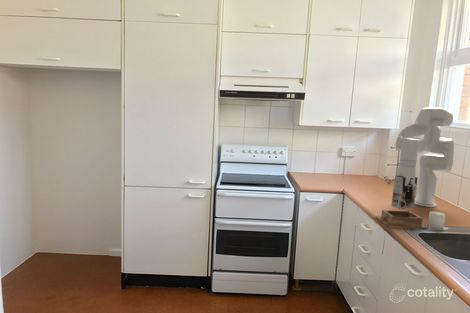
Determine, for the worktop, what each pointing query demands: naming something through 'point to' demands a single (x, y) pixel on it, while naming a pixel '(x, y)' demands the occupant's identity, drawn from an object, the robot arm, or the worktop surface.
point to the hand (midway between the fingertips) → (403, 196)
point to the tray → (401, 220)
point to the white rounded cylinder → (436, 220)
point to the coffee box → (402, 194)
